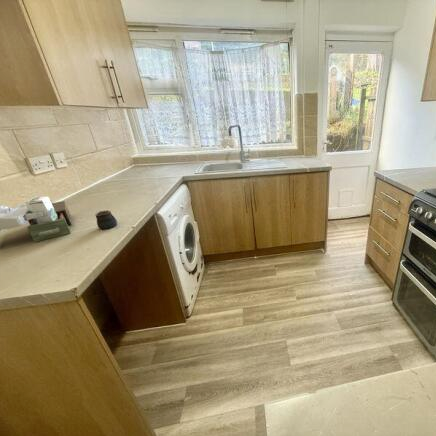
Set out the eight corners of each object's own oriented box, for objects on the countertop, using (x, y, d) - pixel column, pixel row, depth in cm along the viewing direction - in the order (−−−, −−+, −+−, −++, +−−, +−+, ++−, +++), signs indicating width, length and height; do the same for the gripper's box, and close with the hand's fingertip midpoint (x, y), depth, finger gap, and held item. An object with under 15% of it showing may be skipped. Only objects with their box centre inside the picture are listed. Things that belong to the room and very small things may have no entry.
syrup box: (46, 229, 107) (29, 198, 101) (63, 226, 109) (48, 195, 103) (41, 234, 102) (23, 202, 96) (58, 231, 105) (42, 199, 99)
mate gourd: (117, 223, 115) (109, 204, 111) (120, 228, 110) (112, 208, 106) (99, 228, 111) (90, 208, 107) (101, 234, 106) (91, 213, 102)
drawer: (71, 236, 102) (64, 221, 100) (33, 246, 96) (25, 230, 93) (69, 222, 116) (64, 209, 113) (36, 229, 109) (30, 216, 107)
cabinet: (72, 226, 114) (65, 209, 110) (35, 235, 106) (26, 217, 103) (71, 216, 125) (64, 200, 122) (37, 223, 118) (29, 207, 114)
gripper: (17, 215, 107) (57, 209, 112) (-10, 234, 90) (39, 226, 96) (10, 202, 104) (52, 196, 110) (-19, 219, 88) (32, 211, 93)
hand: (46, 210), depth 103 cm, fingers closed on syrup box, 6 cm apart
